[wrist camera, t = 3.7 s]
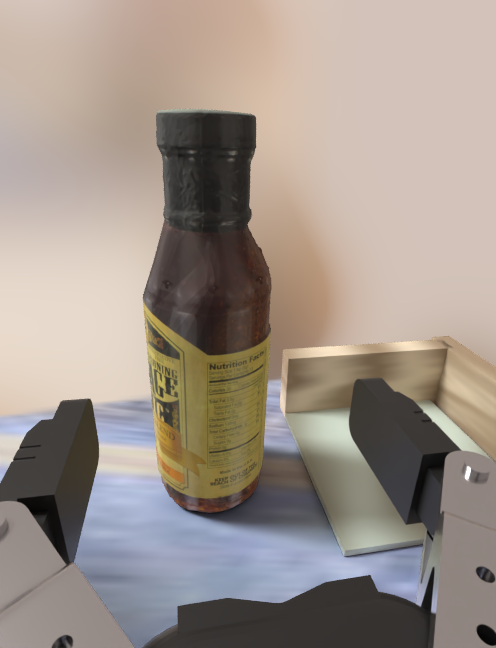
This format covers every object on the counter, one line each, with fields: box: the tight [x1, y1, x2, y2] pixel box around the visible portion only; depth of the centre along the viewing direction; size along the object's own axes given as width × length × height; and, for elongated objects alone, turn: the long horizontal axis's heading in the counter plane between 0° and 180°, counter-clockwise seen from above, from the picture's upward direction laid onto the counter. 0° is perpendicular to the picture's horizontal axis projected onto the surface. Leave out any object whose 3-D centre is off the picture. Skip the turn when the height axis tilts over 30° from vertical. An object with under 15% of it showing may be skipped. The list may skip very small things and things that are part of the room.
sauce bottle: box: [143, 109, 271, 513], centre depth 20 cm, size 6×6×20 cm
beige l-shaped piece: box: [280, 336, 496, 556], centre depth 26 cm, size 14×14×5 cm
